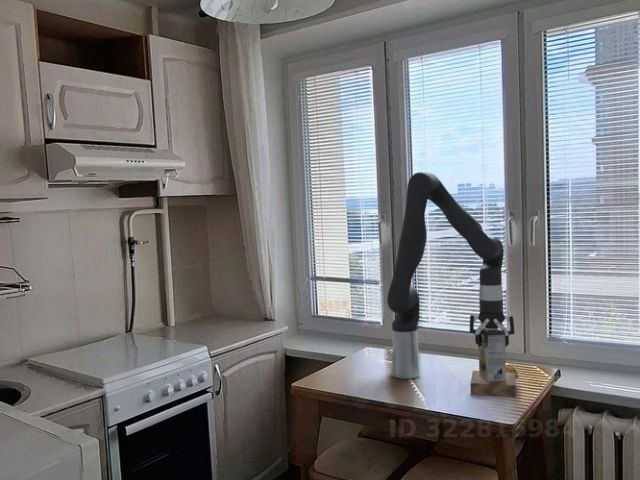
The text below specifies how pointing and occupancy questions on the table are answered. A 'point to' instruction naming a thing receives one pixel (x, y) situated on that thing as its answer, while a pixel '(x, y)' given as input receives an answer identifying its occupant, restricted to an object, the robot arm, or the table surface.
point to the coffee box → (492, 355)
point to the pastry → (511, 369)
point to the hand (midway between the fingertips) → (492, 345)
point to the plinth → (493, 386)
